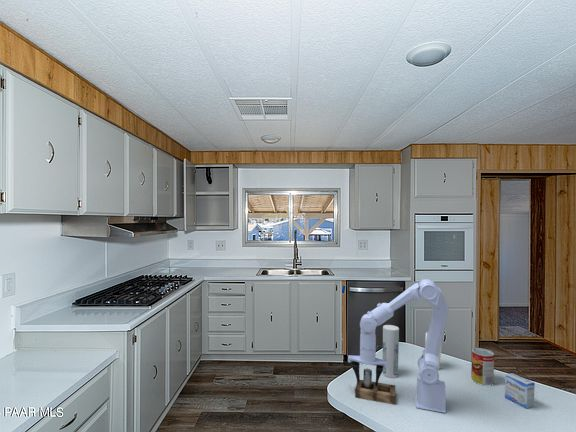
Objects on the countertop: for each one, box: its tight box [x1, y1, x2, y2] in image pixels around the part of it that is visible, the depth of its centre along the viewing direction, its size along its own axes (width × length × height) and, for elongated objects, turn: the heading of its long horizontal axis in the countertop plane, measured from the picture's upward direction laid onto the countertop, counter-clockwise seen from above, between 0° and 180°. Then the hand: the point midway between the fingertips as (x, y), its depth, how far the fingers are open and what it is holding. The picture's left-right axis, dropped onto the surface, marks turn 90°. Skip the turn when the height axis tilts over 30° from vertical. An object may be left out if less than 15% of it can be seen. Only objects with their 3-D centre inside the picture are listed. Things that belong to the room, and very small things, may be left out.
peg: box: [362, 368, 373, 389], centre depth 124 cm, size 3×3×9 cm
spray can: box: [382, 324, 400, 379], centre depth 140 cm, size 6×6×20 cm
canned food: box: [470, 347, 495, 386], centre depth 136 cm, size 8×8×12 cm
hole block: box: [354, 379, 396, 405], centre depth 124 cm, size 14×8×3 cm, turn 72°
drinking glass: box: [424, 331, 443, 371], centre depth 147 cm, size 7×7×15 cm
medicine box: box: [504, 372, 536, 409], centre depth 121 cm, size 8×4×9 cm, turn 23°
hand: (367, 383), depth 125 cm, fingers open, 6 cm apart
